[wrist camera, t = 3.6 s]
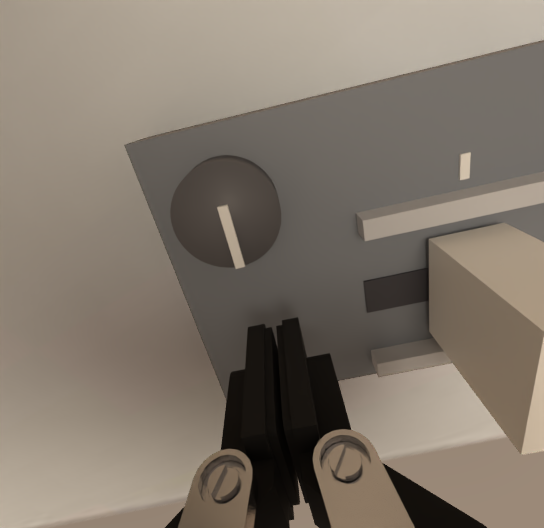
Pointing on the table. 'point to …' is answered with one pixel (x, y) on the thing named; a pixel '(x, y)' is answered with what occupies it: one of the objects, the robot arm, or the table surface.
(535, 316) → the fader
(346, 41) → the table surface
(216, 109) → the table surface
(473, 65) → the console
